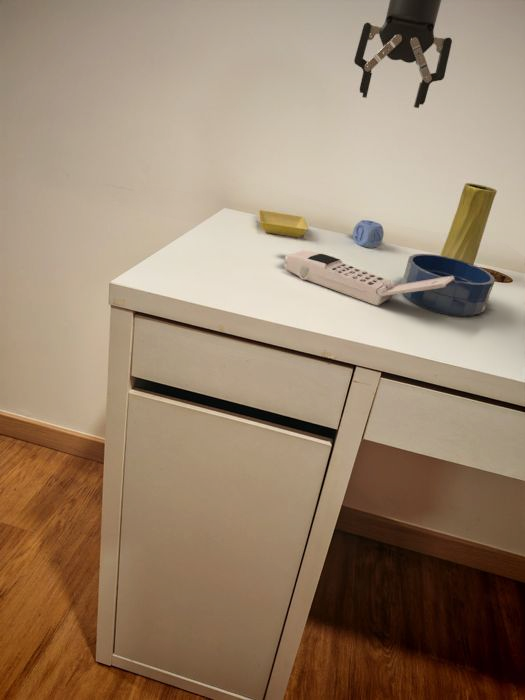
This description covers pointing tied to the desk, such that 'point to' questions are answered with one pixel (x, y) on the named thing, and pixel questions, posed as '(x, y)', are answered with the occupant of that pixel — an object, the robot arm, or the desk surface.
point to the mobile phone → (352, 277)
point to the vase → (469, 223)
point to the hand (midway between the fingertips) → (390, 102)
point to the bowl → (457, 297)
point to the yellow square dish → (282, 223)
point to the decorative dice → (368, 233)
